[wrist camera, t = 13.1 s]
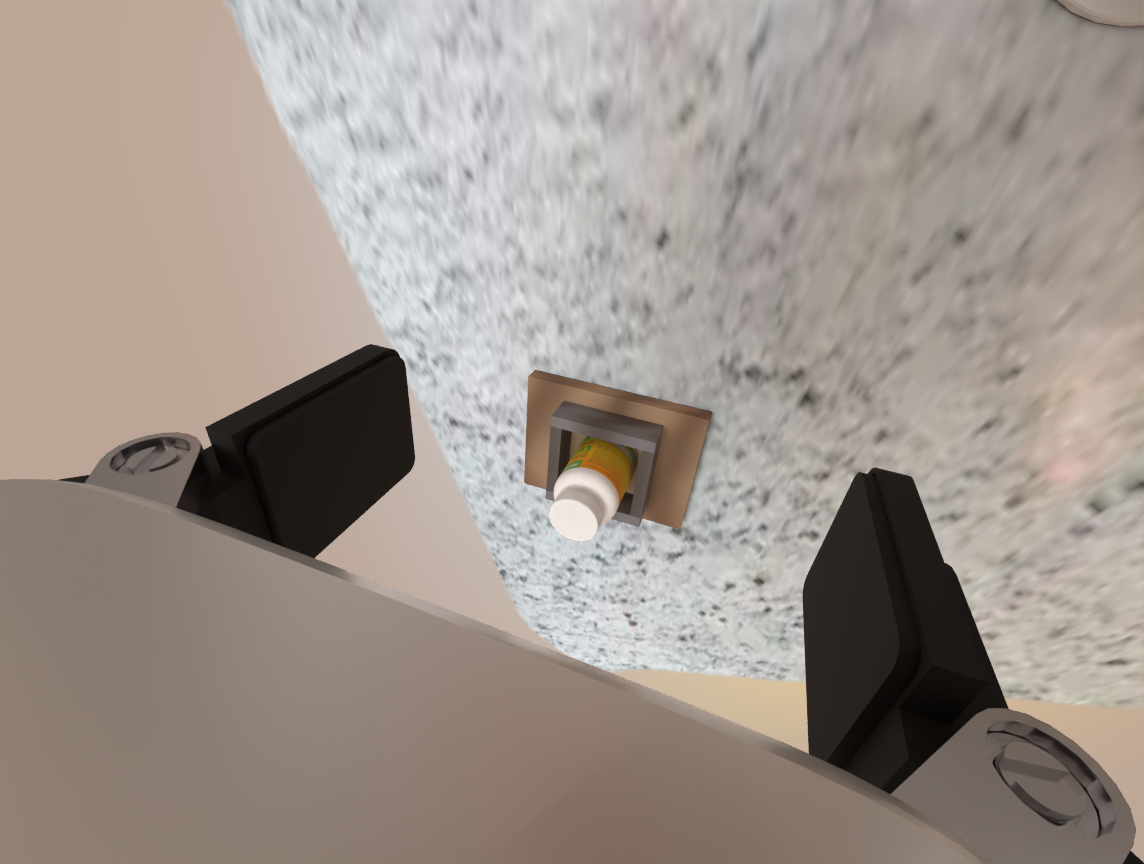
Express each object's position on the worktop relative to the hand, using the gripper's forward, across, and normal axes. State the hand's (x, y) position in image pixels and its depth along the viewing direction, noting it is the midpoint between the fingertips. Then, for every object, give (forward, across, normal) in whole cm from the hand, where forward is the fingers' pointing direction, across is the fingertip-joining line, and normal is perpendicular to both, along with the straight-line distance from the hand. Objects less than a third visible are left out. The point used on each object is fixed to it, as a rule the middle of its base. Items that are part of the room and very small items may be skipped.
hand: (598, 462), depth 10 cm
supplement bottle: (+29, +6, +20) cm, 36 cm away
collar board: (+30, +6, +20) cm, 37 cm away
